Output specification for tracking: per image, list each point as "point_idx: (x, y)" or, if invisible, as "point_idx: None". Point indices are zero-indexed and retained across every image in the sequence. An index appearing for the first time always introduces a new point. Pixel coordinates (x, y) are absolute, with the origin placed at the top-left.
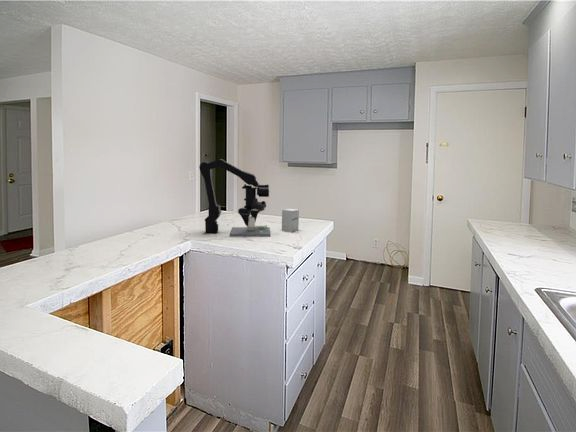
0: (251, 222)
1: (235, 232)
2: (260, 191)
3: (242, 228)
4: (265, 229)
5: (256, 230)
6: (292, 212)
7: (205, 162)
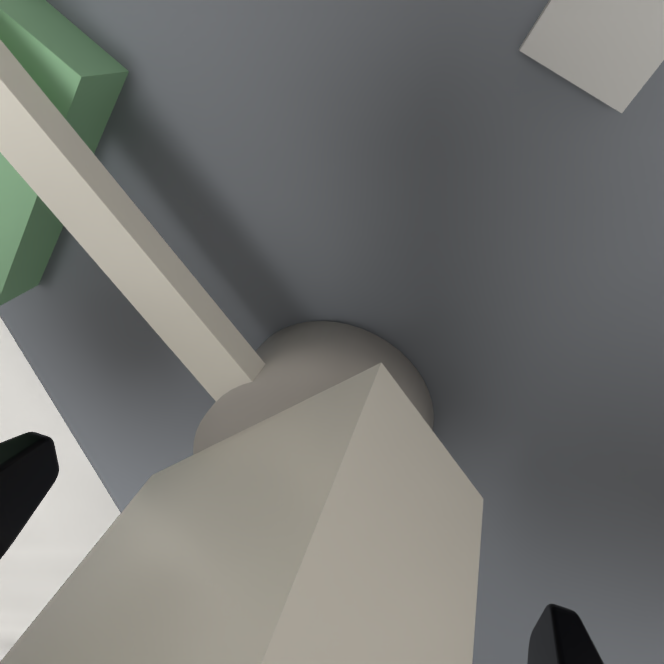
0: (428, 597)
1: (622, 652)
2: None
3: None
4: (87, 36)
5: (292, 270)
6: None
7: None
